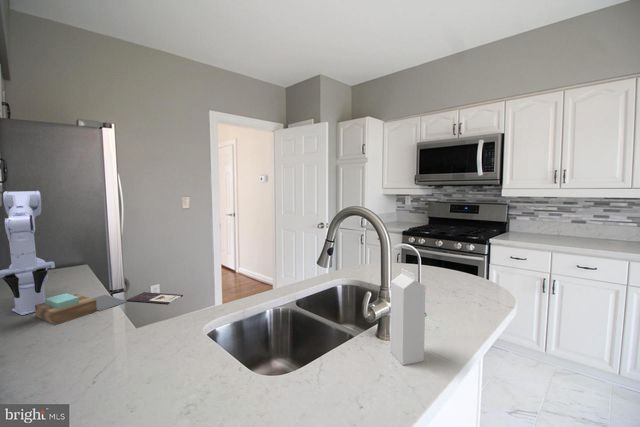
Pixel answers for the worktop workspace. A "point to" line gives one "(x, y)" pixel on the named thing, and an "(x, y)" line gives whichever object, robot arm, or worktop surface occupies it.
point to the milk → (407, 318)
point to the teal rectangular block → (61, 301)
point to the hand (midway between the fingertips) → (27, 294)
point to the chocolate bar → (154, 298)
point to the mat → (107, 302)
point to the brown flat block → (66, 310)
